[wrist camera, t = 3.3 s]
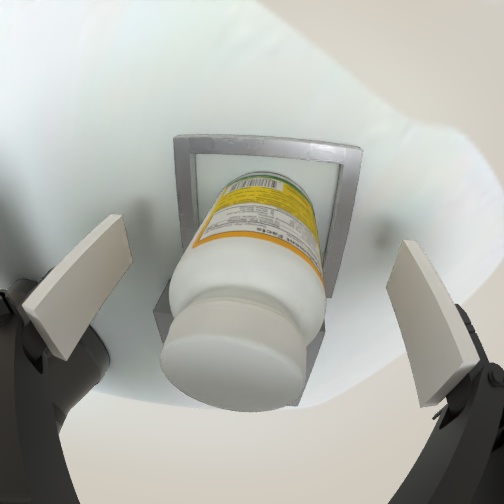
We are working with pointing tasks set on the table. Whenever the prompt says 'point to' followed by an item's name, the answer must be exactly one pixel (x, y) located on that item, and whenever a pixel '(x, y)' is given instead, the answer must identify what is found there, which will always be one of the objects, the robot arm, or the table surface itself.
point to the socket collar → (273, 148)
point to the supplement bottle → (247, 298)
